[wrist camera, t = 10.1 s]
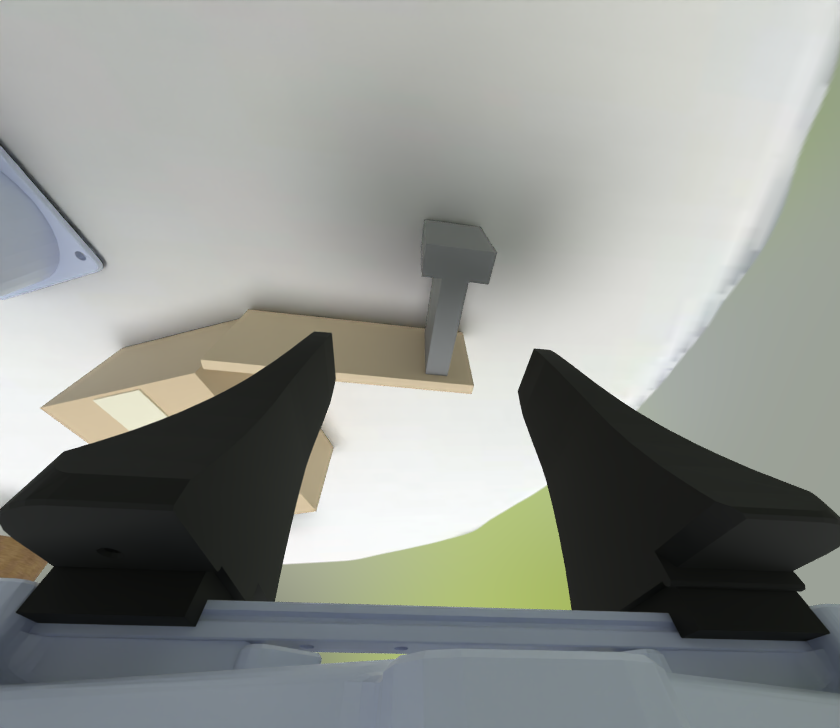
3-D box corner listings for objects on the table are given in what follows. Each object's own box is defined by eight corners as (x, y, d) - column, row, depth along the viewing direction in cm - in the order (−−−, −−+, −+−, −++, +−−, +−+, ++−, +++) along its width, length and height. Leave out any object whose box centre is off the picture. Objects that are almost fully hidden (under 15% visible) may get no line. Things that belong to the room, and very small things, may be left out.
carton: (122, 348, 22) (38, 409, 17) (247, 316, 21) (193, 374, 16) (238, 464, 30) (202, 528, 25) (333, 447, 29) (315, 512, 24)
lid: (250, 317, 20) (203, 369, 16) (221, 190, 16) (145, 212, 12) (460, 339, 21) (471, 394, 17) (488, 225, 17) (511, 258, 13)
